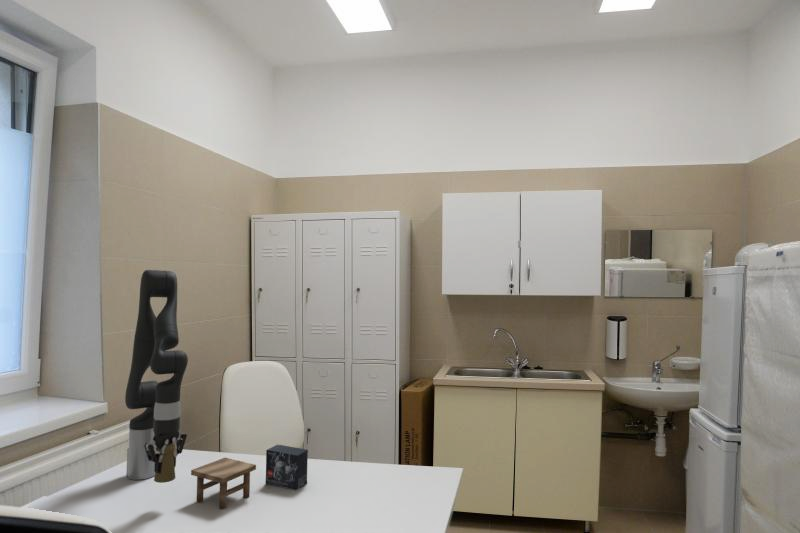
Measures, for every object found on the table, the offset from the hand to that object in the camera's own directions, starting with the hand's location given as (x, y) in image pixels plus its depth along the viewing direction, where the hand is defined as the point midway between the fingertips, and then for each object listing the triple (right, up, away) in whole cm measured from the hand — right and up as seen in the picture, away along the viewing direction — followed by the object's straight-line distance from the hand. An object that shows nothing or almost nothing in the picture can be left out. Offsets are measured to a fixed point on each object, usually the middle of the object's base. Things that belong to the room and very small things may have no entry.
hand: (165, 471), depth 162 cm
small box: (+33, -13, +21) cm, 41 cm away
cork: (0, -3, 0) cm, 3 cm away
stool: (+16, -12, +7) cm, 21 cm away
